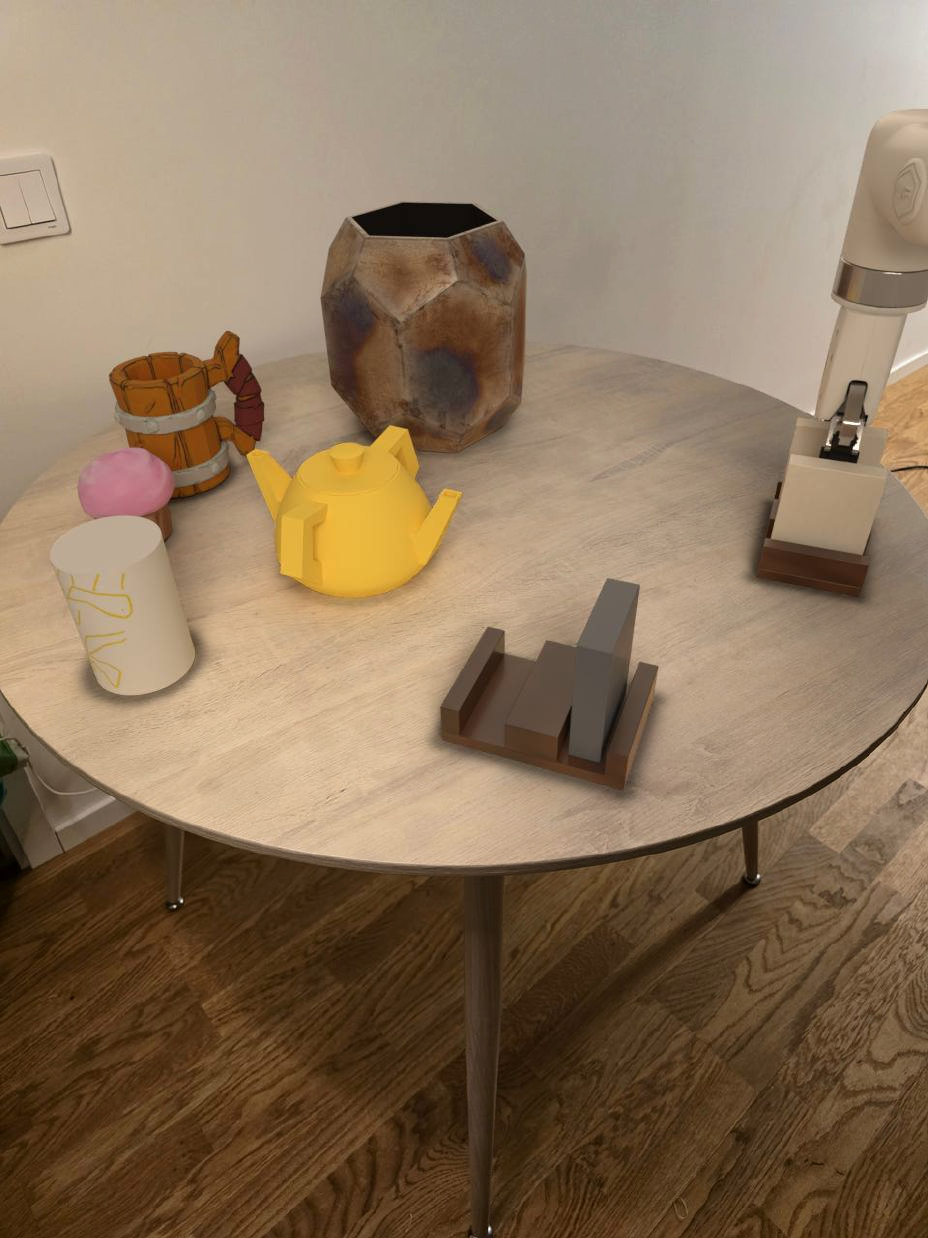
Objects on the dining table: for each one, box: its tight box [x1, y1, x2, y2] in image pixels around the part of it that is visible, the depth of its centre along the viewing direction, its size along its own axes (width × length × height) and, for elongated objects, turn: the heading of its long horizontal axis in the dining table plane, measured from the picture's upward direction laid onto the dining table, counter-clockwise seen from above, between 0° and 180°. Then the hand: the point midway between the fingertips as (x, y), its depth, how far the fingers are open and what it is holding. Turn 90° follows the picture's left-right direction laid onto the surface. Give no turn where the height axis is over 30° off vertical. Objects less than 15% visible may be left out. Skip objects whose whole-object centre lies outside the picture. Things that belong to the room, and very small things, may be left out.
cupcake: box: [77, 447, 175, 541], centre depth 84 cm, size 9×9×10 cm
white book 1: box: [779, 417, 889, 500], centre depth 83 cm, size 2×8×10 cm, turn 68°
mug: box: [108, 330, 265, 499], centre depth 95 cm, size 11×16×15 cm, turn 120°
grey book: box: [568, 577, 641, 763], centre depth 62 cm, size 2×8×10 cm, turn 158°
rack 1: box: [439, 626, 659, 791], centre depth 66 cm, size 14×10×4 cm
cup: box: [49, 515, 196, 696], centre depth 69 cm, size 8×8×12 cm
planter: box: [320, 200, 528, 454], centre depth 100 cm, size 22×24×24 cm
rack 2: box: [756, 474, 872, 598], centre depth 83 cm, size 9×14×4 cm, turn 158°
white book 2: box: [771, 454, 889, 555], centre depth 78 cm, size 8×2×10 cm, turn 68°
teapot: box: [246, 425, 463, 599], centre depth 81 cm, size 17×17×12 cm
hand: (832, 465), depth 83 cm, fingers open, 9 cm apart
